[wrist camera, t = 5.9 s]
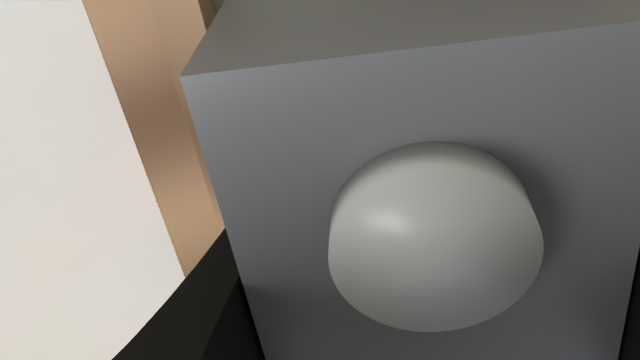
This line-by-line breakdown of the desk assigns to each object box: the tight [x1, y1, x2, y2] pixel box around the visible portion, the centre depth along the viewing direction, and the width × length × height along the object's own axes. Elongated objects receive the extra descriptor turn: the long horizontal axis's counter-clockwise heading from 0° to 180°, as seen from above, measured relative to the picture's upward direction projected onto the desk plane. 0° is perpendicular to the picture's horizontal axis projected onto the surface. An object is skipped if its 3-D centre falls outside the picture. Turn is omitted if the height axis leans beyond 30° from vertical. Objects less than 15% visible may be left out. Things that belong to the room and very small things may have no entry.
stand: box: [82, 0, 225, 278], centre depth 15 cm, size 14×14×3 cm
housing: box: [179, 0, 640, 360], centre depth 10 cm, size 9×5×6 cm, turn 9°
